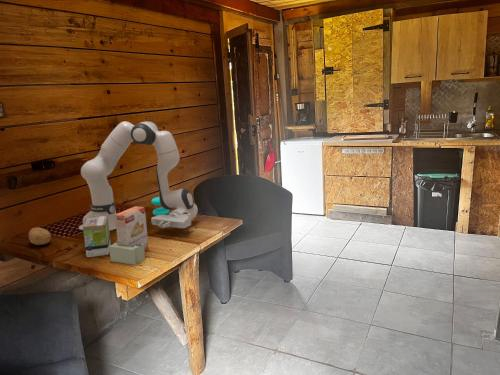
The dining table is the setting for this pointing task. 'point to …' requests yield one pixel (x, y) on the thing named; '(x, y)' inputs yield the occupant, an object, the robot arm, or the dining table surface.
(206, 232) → the dining table surface
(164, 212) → the donuts
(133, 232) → the cracker box
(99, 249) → the tea box
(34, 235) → the potato
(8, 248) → the dining table surface
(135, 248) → the pale green block
